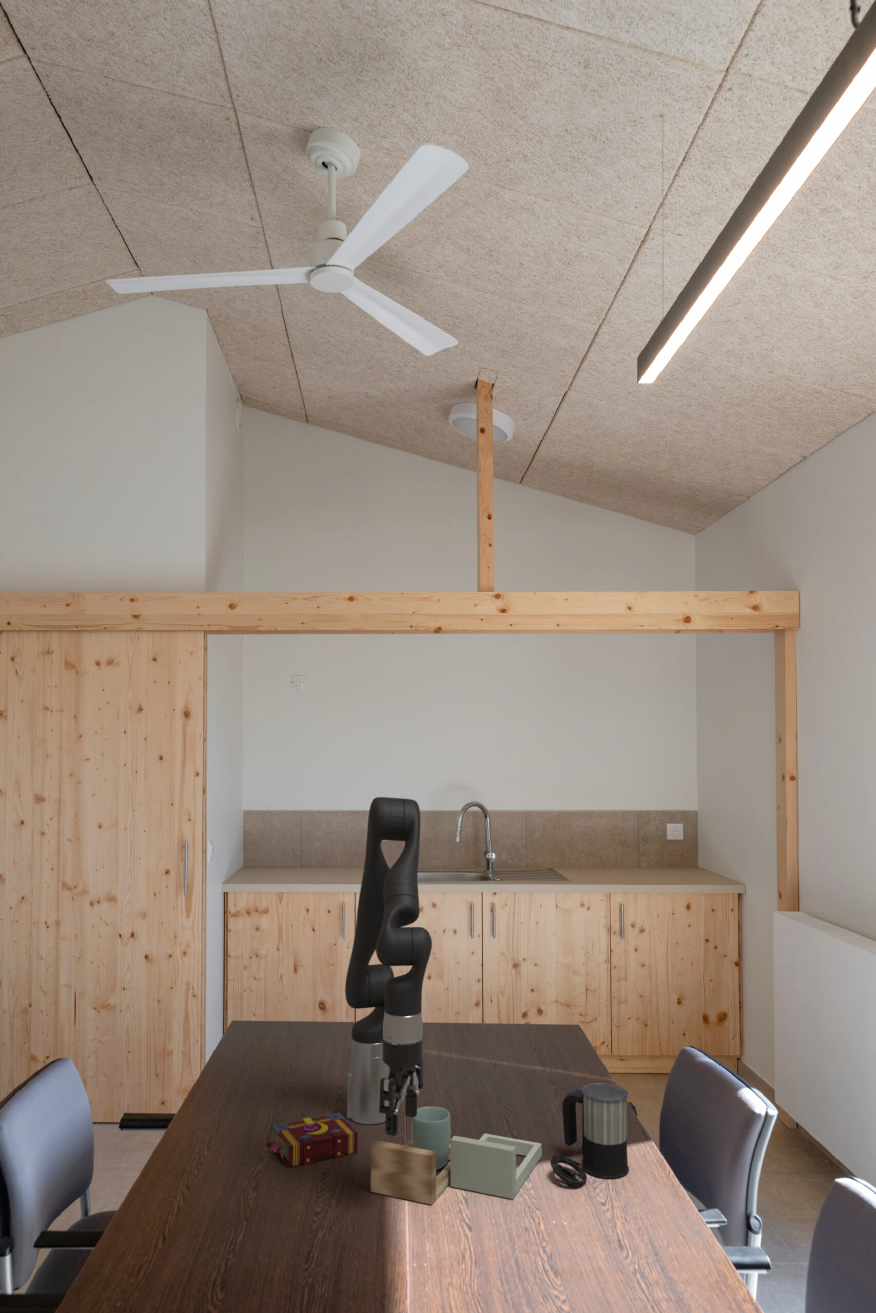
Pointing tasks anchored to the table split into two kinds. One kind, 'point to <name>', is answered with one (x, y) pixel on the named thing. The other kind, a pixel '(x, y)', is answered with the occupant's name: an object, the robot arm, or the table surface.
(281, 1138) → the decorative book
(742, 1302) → the table surface
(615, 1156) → the milk frother
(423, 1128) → the cup
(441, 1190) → the wooden drawer
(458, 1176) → the frame
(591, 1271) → the table surface
